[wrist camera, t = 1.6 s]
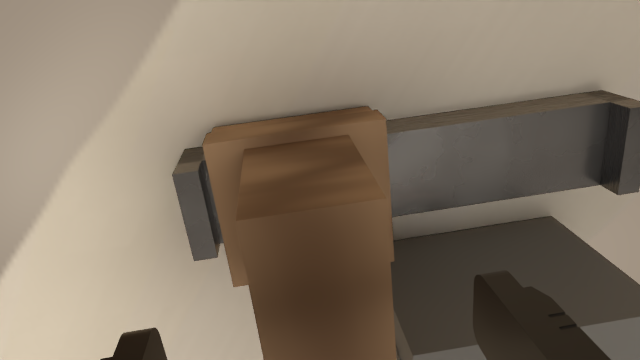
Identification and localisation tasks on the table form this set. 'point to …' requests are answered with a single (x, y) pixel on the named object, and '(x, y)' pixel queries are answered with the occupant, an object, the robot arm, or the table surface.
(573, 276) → the cabinet
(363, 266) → the stepped wooden block
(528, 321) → the robot arm
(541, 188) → the rail
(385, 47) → the table surface
